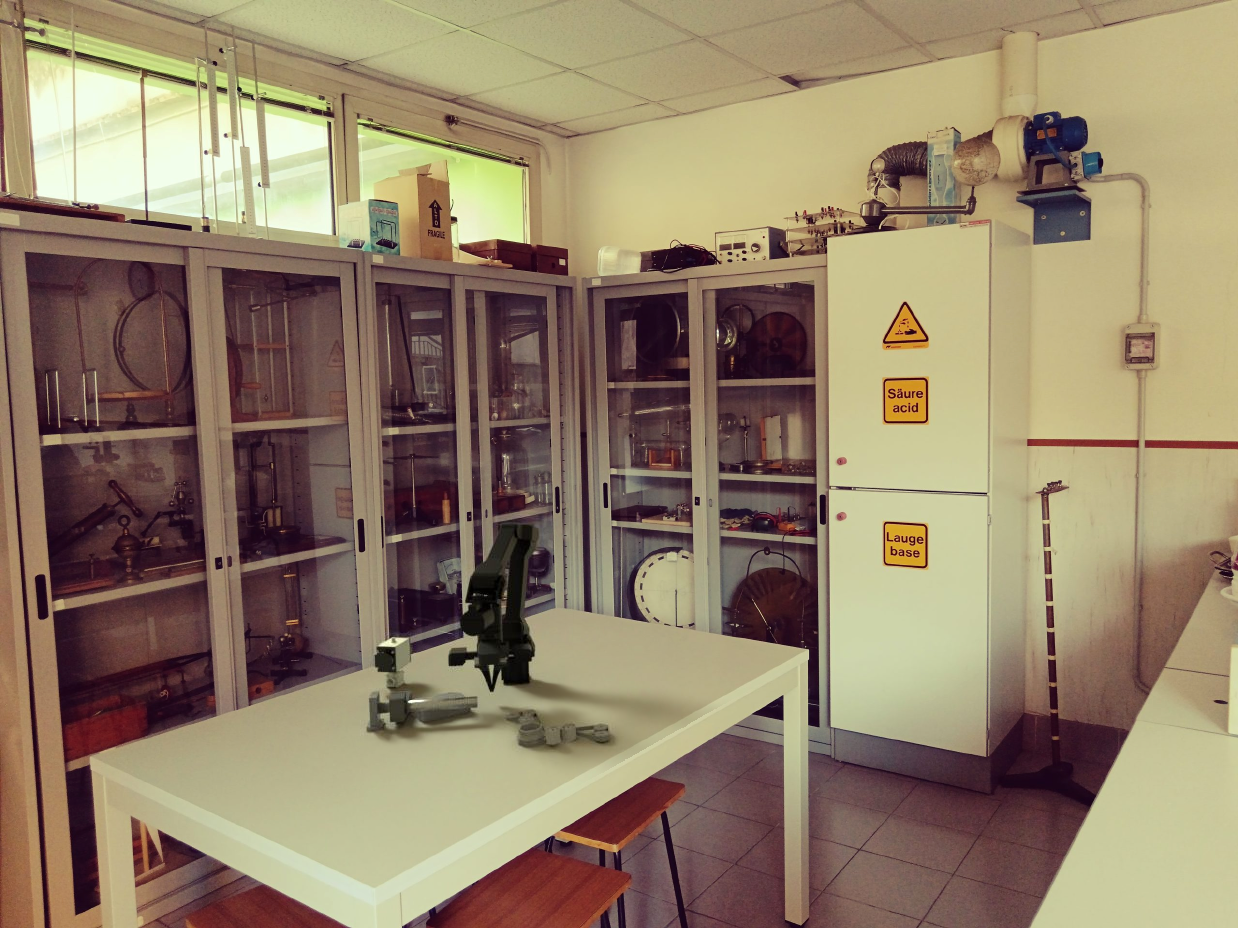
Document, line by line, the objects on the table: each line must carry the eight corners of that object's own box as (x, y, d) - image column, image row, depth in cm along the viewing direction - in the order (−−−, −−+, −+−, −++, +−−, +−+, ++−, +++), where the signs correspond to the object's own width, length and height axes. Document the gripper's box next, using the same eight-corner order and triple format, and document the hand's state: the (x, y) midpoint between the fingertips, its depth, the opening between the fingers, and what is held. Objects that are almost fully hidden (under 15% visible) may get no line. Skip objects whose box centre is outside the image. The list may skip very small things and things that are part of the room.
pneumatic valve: (414, 678, 226) (412, 631, 226) (393, 693, 215) (391, 644, 214) (393, 677, 228) (391, 630, 227) (372, 692, 216) (370, 643, 215)
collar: (411, 701, 206) (410, 678, 206) (404, 723, 192) (403, 699, 191) (398, 702, 206) (397, 679, 205) (390, 724, 192) (388, 700, 191)
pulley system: (576, 766, 173) (621, 736, 185) (574, 742, 172) (619, 714, 185) (473, 741, 189) (521, 716, 201) (471, 720, 188) (519, 695, 201)
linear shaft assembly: (478, 715, 199) (477, 684, 198) (477, 723, 194) (476, 692, 193) (370, 722, 196) (368, 691, 195) (366, 731, 191) (365, 698, 190)
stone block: (407, 719, 203) (421, 723, 194) (406, 698, 204) (420, 701, 195) (457, 711, 209) (473, 714, 201) (456, 690, 210) (472, 692, 201)
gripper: (445, 636, 196) (447, 706, 197) (531, 631, 198) (533, 700, 199) (448, 623, 207) (451, 689, 208) (530, 619, 209) (532, 684, 210)
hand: (491, 691), depth 206 cm, fingers closed
